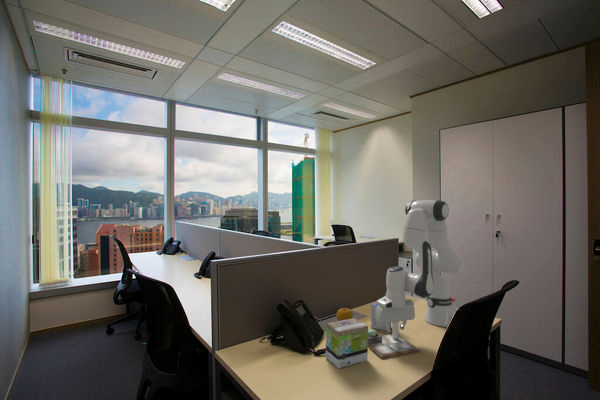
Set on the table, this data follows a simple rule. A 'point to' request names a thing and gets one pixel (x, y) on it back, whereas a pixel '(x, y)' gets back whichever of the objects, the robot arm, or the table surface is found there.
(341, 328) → the tea box
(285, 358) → the table surface
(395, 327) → the cylinder
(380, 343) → the brown shallow tray
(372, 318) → the ink cartridge box
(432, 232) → the robot arm
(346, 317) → the apple
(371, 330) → the button
